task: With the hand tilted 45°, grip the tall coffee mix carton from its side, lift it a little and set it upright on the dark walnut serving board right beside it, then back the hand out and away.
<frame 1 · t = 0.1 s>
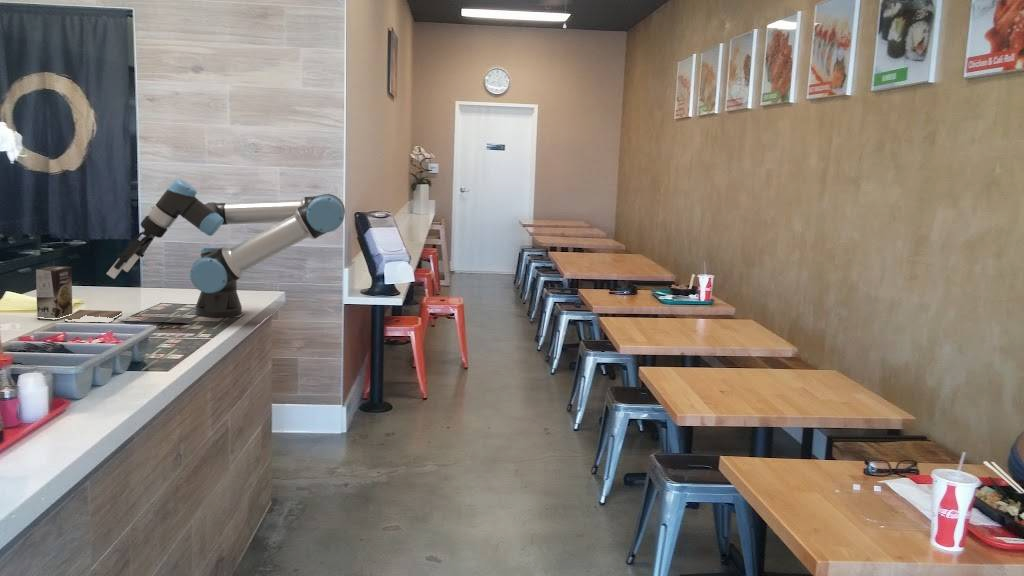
hand: (117, 272, 244), 15 cm above the table, tool tilted 35°, fingers open, 13 cm apart
coffee box: (55, 317, 243), on the table
walnut board: (94, 318, 245), on the table
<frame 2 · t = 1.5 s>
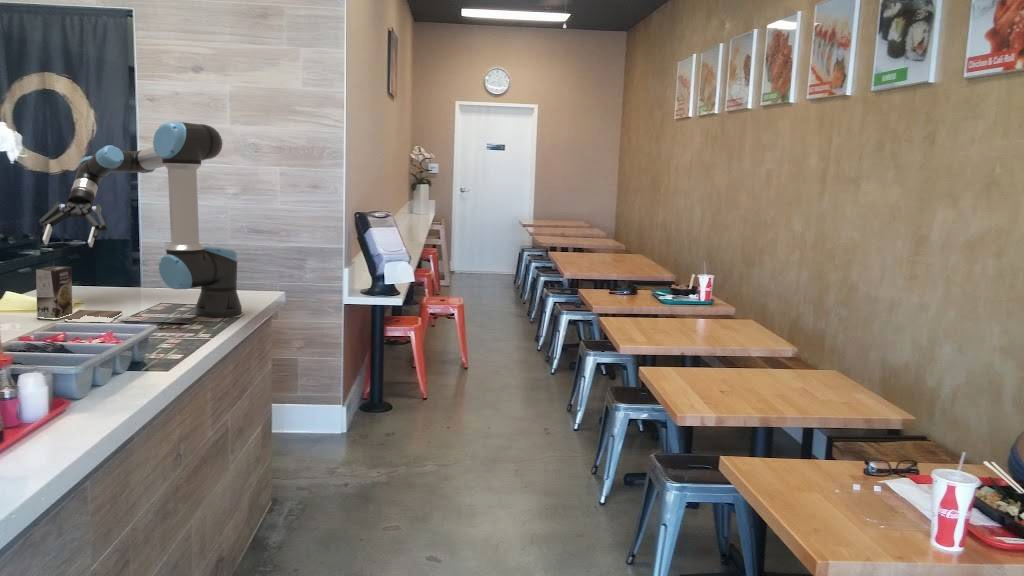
hand: (67, 243, 250), 23 cm above the table, tool tilted 45°, fingers open, 13 cm apart
nothing on the table moved.
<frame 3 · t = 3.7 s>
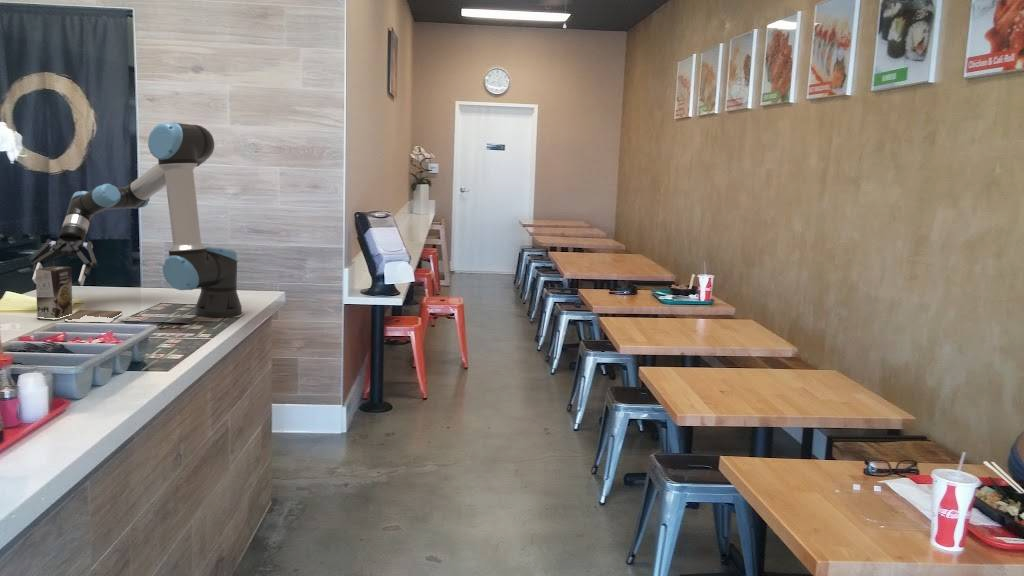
hand: (57, 282, 246), 11 cm above the table, tool tilted 45°, fingers open, 13 cm apart
nothing on the table moved.
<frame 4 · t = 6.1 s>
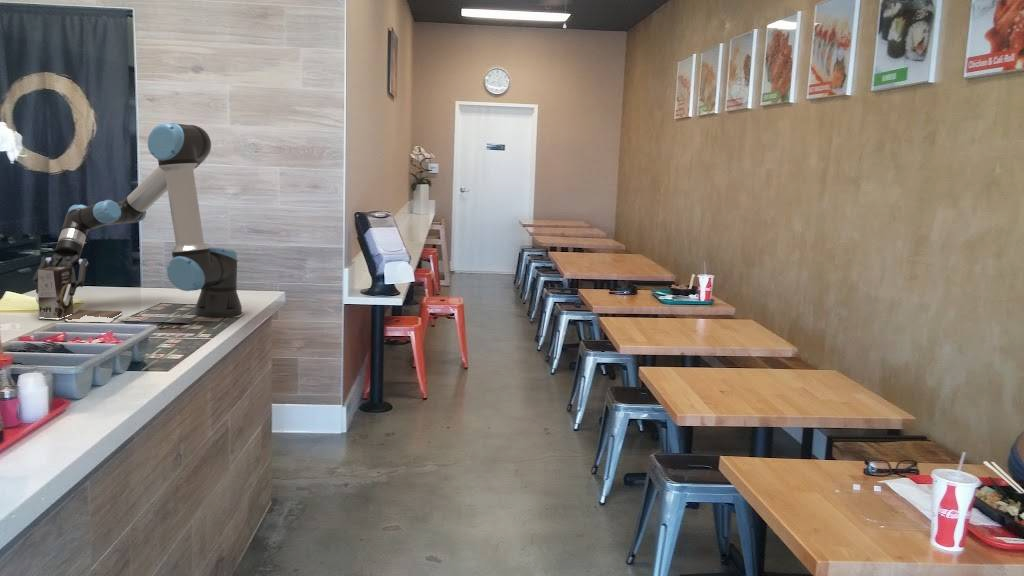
hand: (52, 302, 239), 5 cm above the table, tool tilted 45°, fingers closed on coffee box, 7 cm apart
coffee box: (56, 317, 243), on the table, touching gripper
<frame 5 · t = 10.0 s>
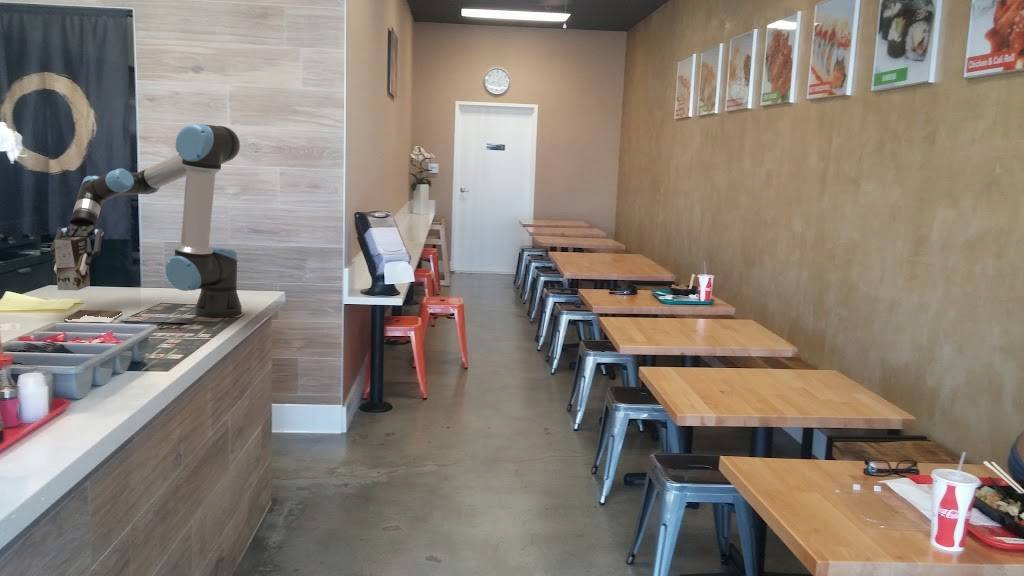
hand: (69, 272, 239), 16 cm above the table, tool tilted 45°, fingers closed on coffee box, 7 cm apart
coffee box: (74, 288, 243), point 10 cm above the table, touching gripper
when the fingers open (8 cm above the table, at t = 13.9 s): coffee box drops 1 cm, resting on walnut board.
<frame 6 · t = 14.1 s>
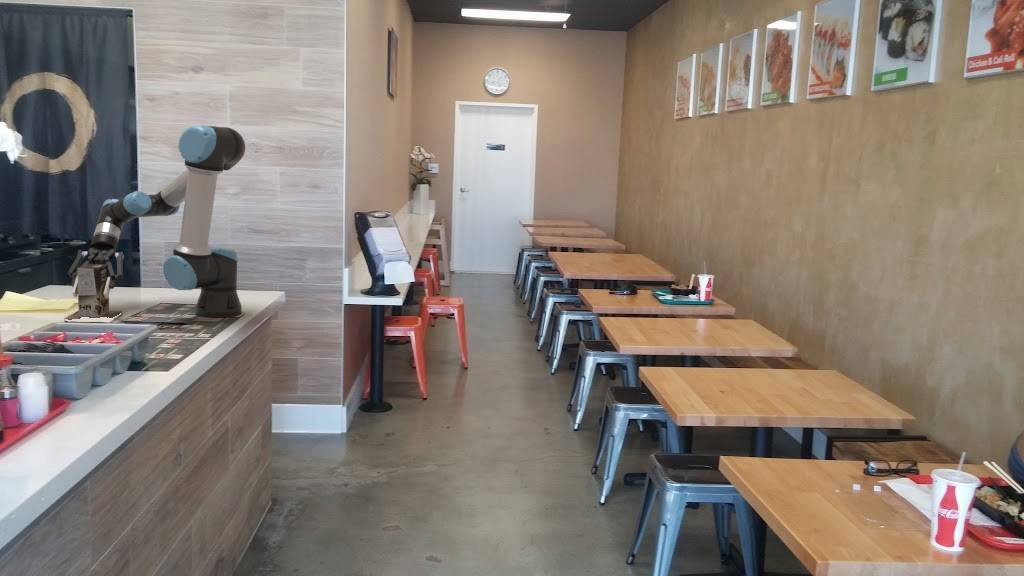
hand: (90, 295, 241), 8 cm above the table, tool tilted 45°, fingers open, 8 cm apart
coffee box: (94, 315, 245), point 1 cm above the table, touching walnut board
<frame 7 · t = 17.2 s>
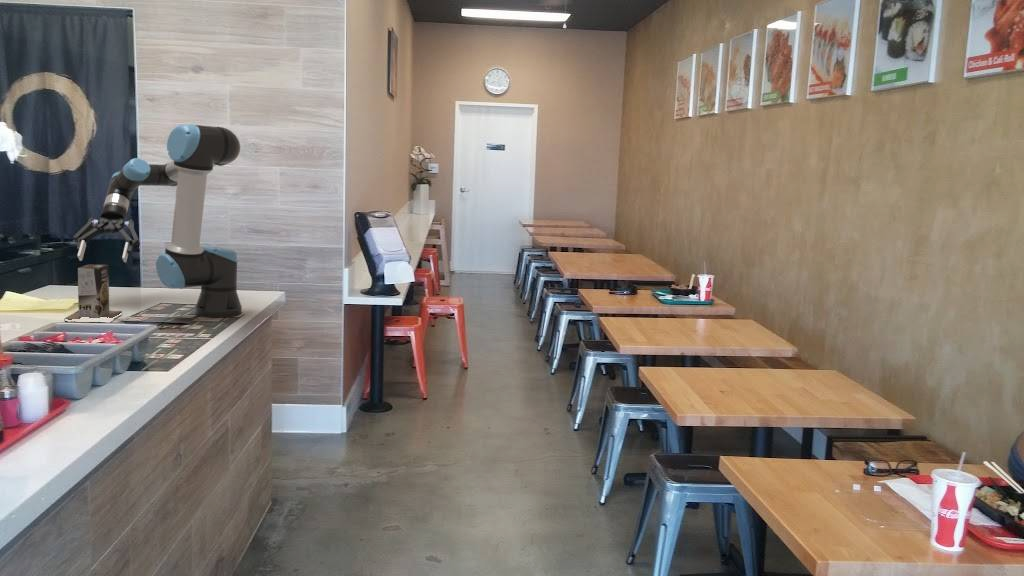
hand: (102, 259, 251), 18 cm above the table, tool tilted 45°, fingers open, 13 cm apart
nothing on the table moved.
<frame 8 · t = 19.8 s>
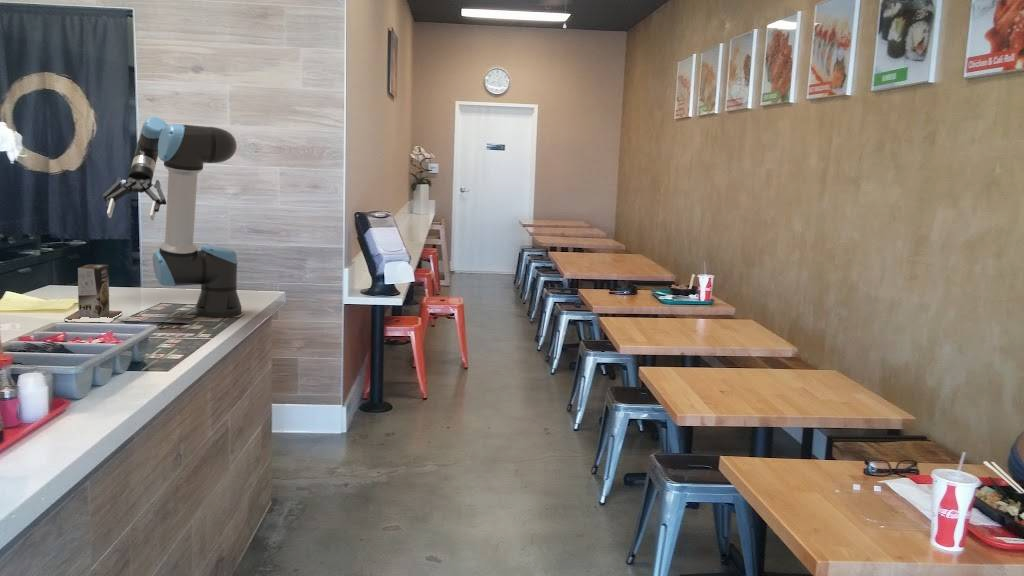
hand: (130, 216, 260), 32 cm above the table, tool tilted 45°, fingers open, 13 cm apart
nothing on the table moved.
at the end: coffee box inside the target area on the walnut board (0.5 cm from its centre), point 1.0 cm above the walnut board's base; coffee box tilted 0°; the gripper is holding nothing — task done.
